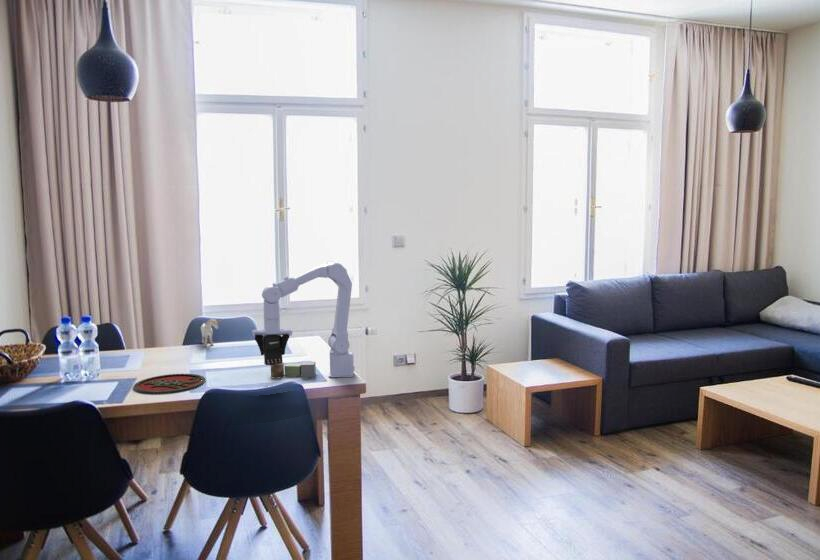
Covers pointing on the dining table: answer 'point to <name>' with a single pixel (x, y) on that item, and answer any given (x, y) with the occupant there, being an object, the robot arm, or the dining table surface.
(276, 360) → the battery
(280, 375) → the walnut cylinder
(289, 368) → the olive block
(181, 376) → the decorative plate
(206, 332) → the unicorn figurine
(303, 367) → the charcoal cube
